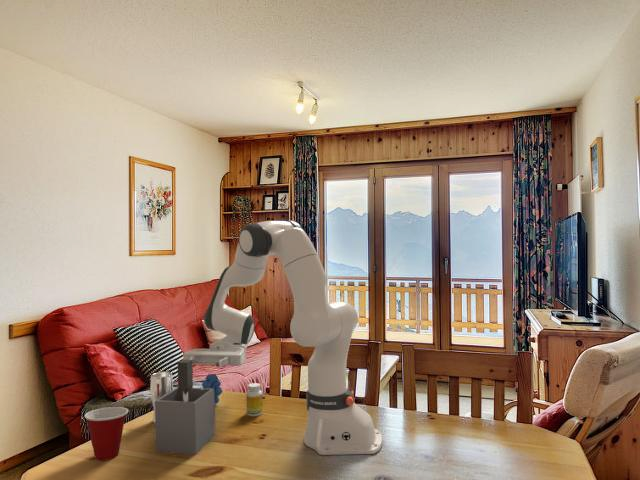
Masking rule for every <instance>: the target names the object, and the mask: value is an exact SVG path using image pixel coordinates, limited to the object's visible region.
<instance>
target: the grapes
mask: <svg viewBox="0 0 640 480" xmlns="http://www.w3.org/2000/svg"><path fill="white" fill-rule="evenodd" d="M204 379H205V380H204V381H202V383H201V386H202V387H201V388H210V389H214V407H215V405H216V404H218V403H219V402H220V398H219V397H220V395H221V394H222V393H223V388H222V387H220V386H221V384H222V383H221V381H220V380H219V377H218V376H217V374H216V373H212V374H211V373H210V374H209V373H208V374H207V375H206V376H205V378H204Z"/></svg>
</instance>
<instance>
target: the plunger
mask: <svg viewBox="0 0 640 480" xmlns="http://www.w3.org/2000/svg"><path fill="white" fill-rule="evenodd" d="M193 376H194V374H193V366H192V360H183V359H181V360H179V361H178V362H177V387H178V391H183V401H185V402H188V391H189V390H190V389H191V388H194V383H193V382H194V381H193V380H194V379H193Z"/></svg>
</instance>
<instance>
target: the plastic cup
mask: <svg viewBox="0 0 640 480" xmlns="http://www.w3.org/2000/svg"><path fill="white" fill-rule="evenodd" d="M129 412H130V411H129V409H128V408H126V407H121V406H113V407H112V406H111V407H109V406H108V407H101V408H97V409H93V410H90V411H88V412H86V413H85V414H84V418H85V419H86V423H87V427H88V431H89V436H90V441H91V447H92V451H93V455H94V457H95V460H96V461H109V460H111V459H115V458H116V457H117V456H119V452H120V447H121V442H122V437H123V432H124V425H125V420H126V418H127V414H128V413H129Z"/></svg>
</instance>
